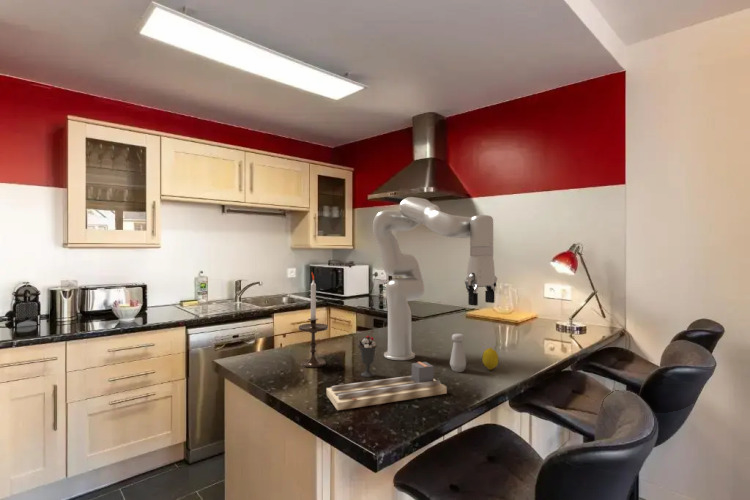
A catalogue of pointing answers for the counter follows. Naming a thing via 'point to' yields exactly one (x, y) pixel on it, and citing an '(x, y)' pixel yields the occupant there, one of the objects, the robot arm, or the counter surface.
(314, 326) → the candlestick
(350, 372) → the counter surface
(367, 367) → the sundae
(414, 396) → the fader board
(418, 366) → the fader knob
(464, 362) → the salt shaker
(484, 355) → the lemon
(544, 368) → the counter surface
